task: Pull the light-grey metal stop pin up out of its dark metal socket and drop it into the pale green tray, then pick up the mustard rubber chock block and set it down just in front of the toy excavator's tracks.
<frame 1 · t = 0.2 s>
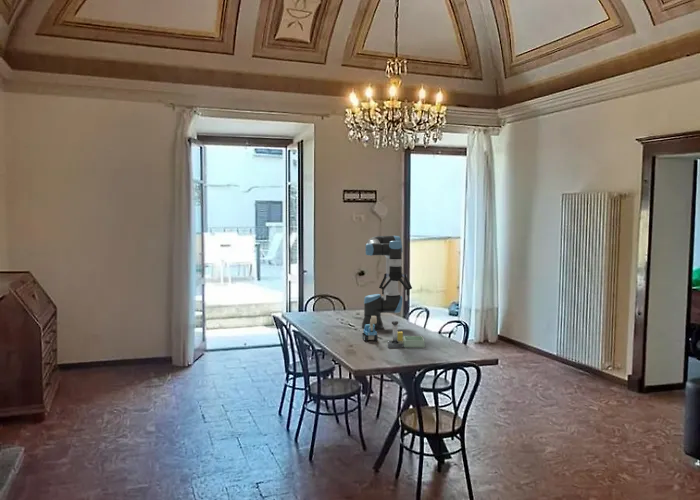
hand: (395, 300, 366), 27 cm above the table, fingers open, 13 cm apart
toy excavator: (370, 341, 377), on the table
pin holder: (395, 346, 362), on the table
chock: (397, 341, 375), on the table
stop pin: (395, 334, 361), in the pin holder
tray: (413, 345, 363), on the table
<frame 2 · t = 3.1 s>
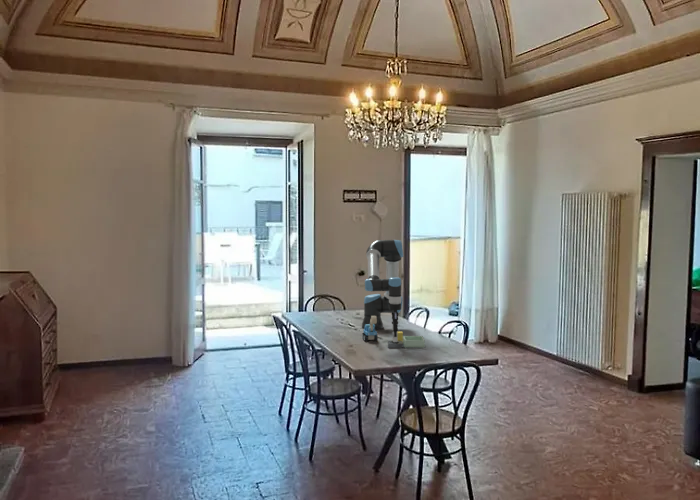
hand: (395, 341, 361), 3 cm above the table, fingers closed on stop pin, 3 cm apart
stop pin: (395, 334, 361), in the pin holder, touching gripper
everything else where it was.
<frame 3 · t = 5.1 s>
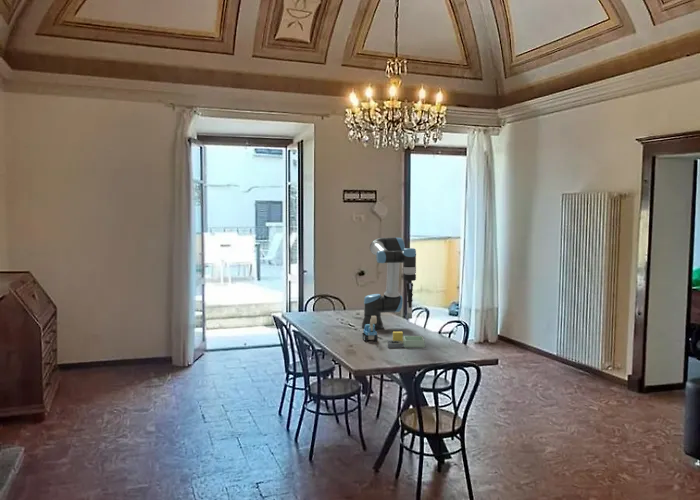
hand: (409, 312, 362), 21 cm above the table, fingers closed on stop pin, 3 cm apart
stop pin: (409, 306, 361), point 24 cm above the table, touching gripper
everything else where it was.
when the fingers open (6 cm above the table, at t = 7.1 s): stop pin stays where it is, resting on tray.
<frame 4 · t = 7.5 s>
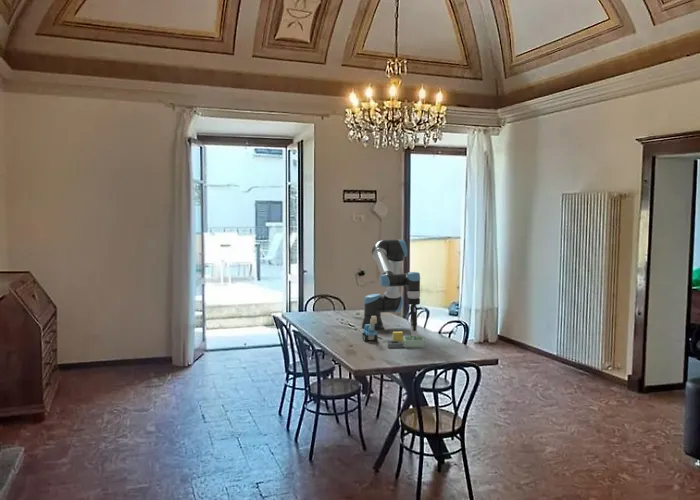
hand: (413, 334, 363), 7 cm above the table, fingers open, 9 cm apart
stop pin: (413, 332, 363), in the tray, point 8 cm above the table
everything else where it was.
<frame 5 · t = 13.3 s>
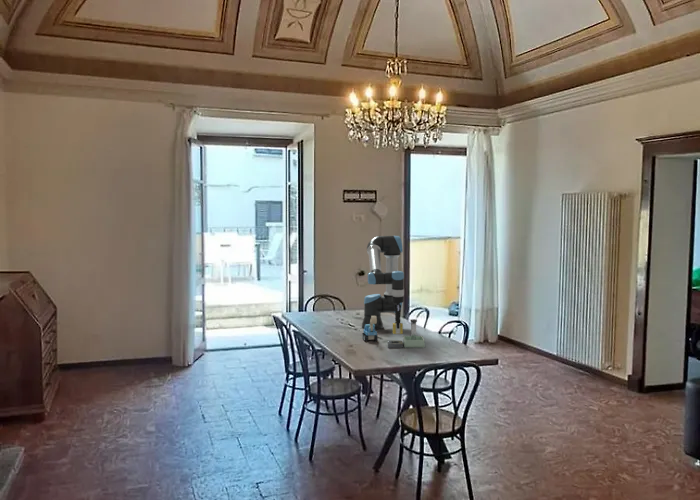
hand: (397, 332, 375), 6 cm above the table, fingers closed on chock, 4 cm apart
chock: (397, 333, 375), point 5 cm above the table, touching gripper
everything else where it was.
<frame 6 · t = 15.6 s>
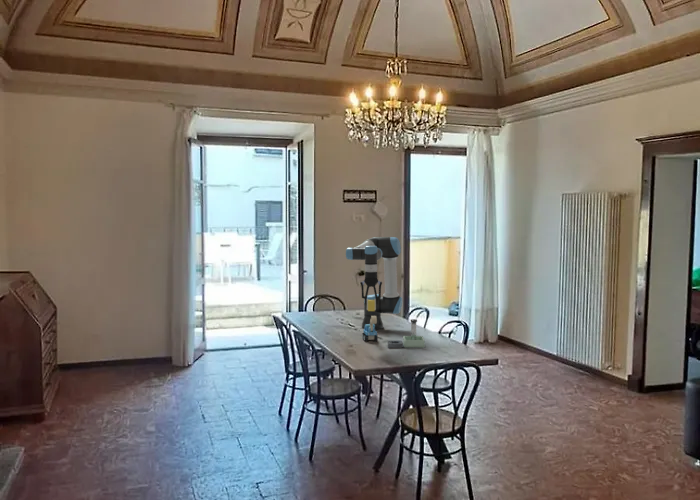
hand: (371, 309, 360), 23 cm above the table, fingers closed on chock, 4 cm apart
chock: (371, 310, 360), point 22 cm above the table, touching gripper
everything else where it was.
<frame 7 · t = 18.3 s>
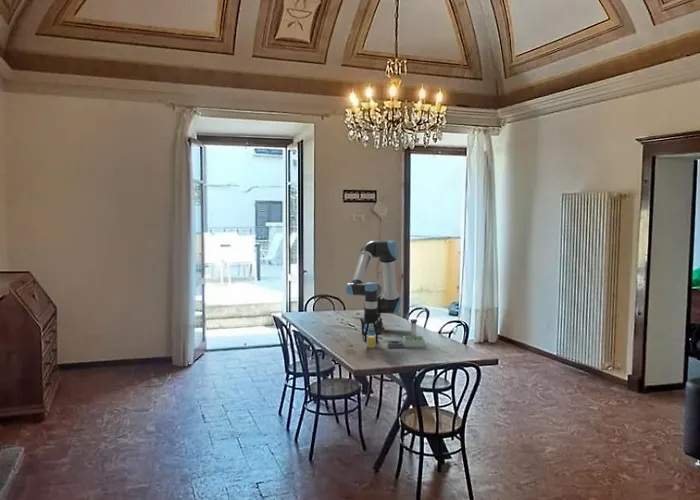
hand: (371, 345, 362), 0 cm above the table, fingers closed on chock, 4 cm apart
chock: (371, 346, 362), on the table, touching gripper
everything else where it was.
when the fingers open (0 cm above the table, at t = 18.3 s): chock stays where it is, on the table.
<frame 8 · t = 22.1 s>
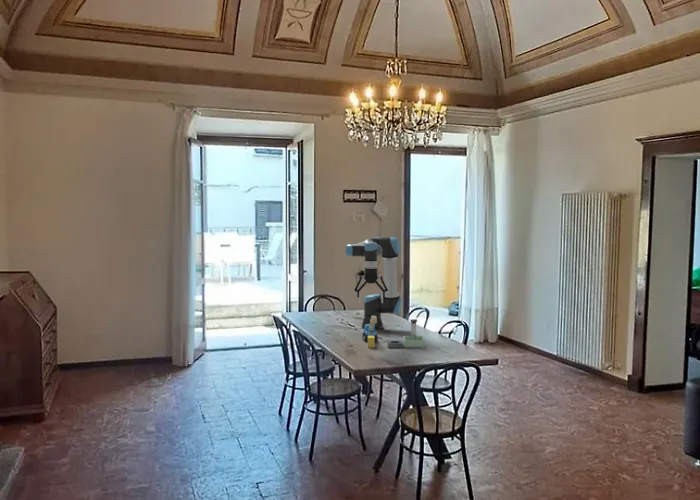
hand: (371, 302, 360), 27 cm above the table, fingers open, 13 cm apart
chock: (371, 346, 362), on the table
everything else where it was.
at the end: stop pin inside the target area on the tray (0.0 cm from its centre), point 8.3 cm above the tray's base; chock inside the target area on the table beside the toy excavator (0.1 cm from its centre), on the table; toy excavator moved 0.3 cm from its start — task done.
